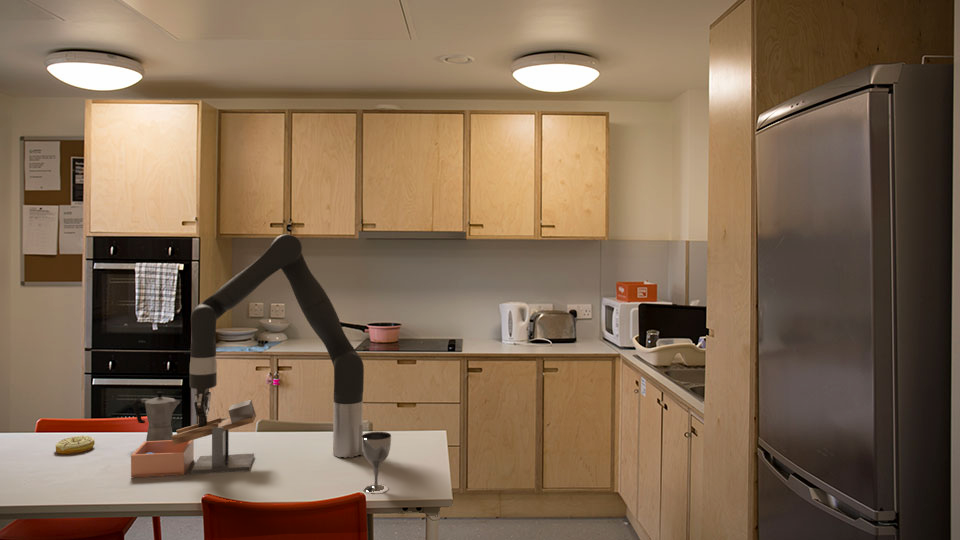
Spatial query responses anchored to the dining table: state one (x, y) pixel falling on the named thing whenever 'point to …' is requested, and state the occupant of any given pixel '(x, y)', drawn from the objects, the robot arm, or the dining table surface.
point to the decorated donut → (75, 444)
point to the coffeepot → (157, 416)
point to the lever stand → (222, 456)
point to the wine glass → (376, 453)
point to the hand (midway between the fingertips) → (202, 428)
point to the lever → (218, 423)
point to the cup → (162, 458)
